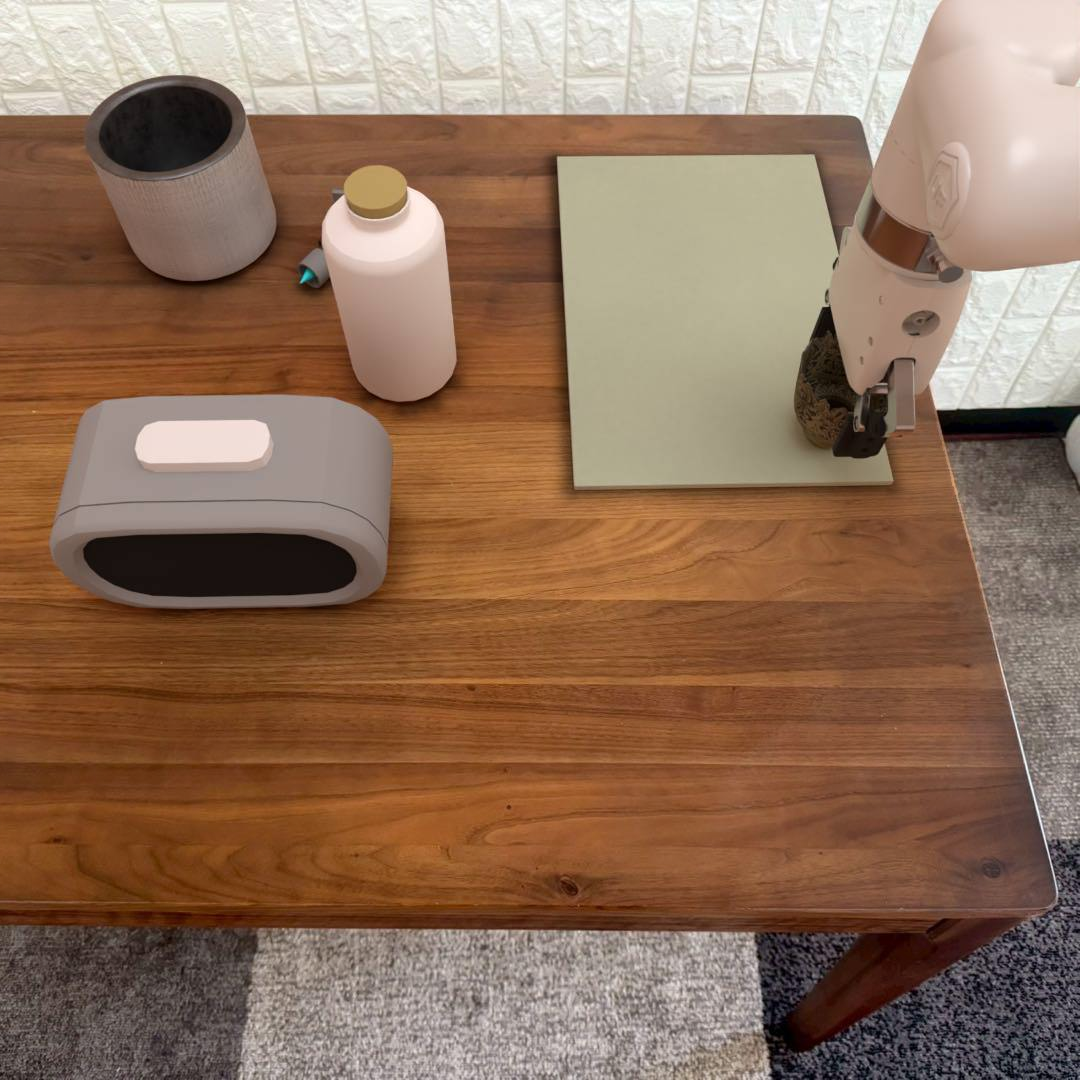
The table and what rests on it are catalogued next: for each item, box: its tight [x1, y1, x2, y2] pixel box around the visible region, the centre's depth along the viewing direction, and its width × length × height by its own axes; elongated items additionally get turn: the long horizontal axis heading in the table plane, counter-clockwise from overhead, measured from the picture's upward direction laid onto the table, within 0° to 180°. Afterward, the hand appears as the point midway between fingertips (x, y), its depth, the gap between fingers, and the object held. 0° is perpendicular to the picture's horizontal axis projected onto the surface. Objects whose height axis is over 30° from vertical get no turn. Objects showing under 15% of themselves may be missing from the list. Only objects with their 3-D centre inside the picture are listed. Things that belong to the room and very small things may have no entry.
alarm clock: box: [48, 394, 394, 610], centre depth 63 cm, size 21×10×13 cm, turn 91°
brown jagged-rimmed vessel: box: [794, 330, 888, 450], centre depth 70 cm, size 8×7×8 cm
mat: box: [556, 154, 894, 491], centre depth 80 cm, size 36×24×1 cm, turn 2°
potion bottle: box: [321, 164, 457, 403], centre depth 69 cm, size 8×8×18 cm
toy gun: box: [296, 188, 344, 289], centre depth 80 cm, size 10×12×5 cm
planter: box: [83, 74, 277, 282], centre depth 79 cm, size 13×12×11 cm
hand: (841, 398), depth 70 cm, fingers open, 9 cm apart
